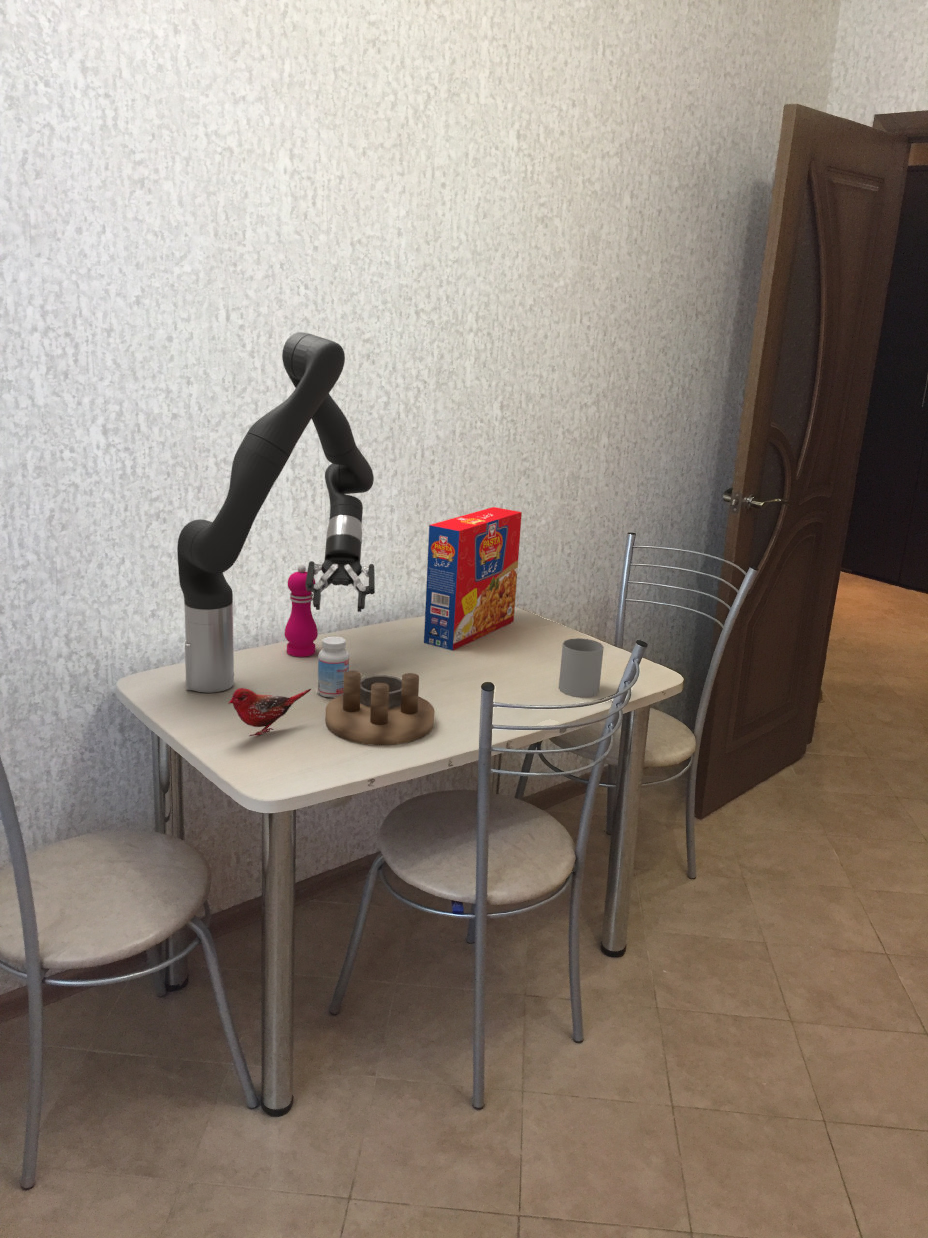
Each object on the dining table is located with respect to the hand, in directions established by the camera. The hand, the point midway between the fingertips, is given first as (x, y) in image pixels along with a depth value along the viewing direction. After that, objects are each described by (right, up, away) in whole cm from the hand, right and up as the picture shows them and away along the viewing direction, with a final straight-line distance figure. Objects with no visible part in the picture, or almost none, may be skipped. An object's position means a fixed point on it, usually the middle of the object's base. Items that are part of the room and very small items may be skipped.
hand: (338, 609), depth 209 cm
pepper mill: (-10, -10, +16) cm, 21 cm away
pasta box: (+27, -5, +36) cm, 45 cm away
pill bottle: (0, -17, -5) cm, 18 cm away
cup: (+50, -17, +4) cm, 53 cm away
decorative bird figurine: (-9, -23, -24) cm, 34 cm away
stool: (+10, -21, -18) cm, 29 cm away
